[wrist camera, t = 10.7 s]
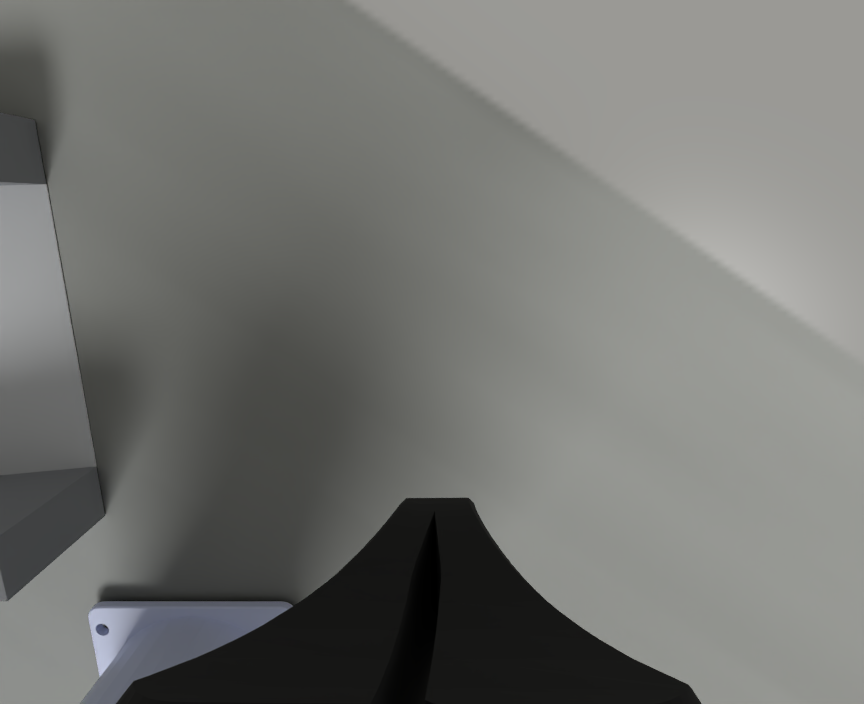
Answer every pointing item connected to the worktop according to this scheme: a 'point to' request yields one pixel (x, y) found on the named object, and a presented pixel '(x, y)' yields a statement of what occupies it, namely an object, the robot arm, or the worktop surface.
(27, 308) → the loading dock
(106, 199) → the worktop surface
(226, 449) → the worktop surface
